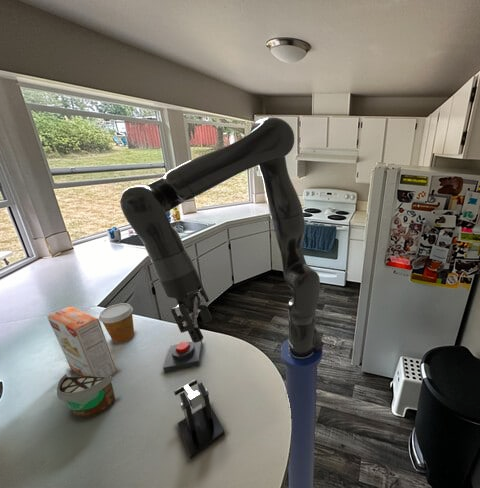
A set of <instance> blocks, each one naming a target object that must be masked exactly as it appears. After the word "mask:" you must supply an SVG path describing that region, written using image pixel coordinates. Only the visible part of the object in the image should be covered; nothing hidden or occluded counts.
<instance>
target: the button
mask: <svg viewBox="0 0 480 488" xmlns="http://www.w3.org/2000/svg"><path fill="white" fill-rule="evenodd" d="M188 342H189V341H188ZM188 342H187V341H181V342H179V343H177V344H178V345H177V346H176V349H177V352H178V353H184V352H186V351H188V350H189V344H188Z"/></svg>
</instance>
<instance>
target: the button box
mask: <svg viewBox="0 0 480 488" xmlns="http://www.w3.org/2000/svg"><path fill="white" fill-rule="evenodd" d="M186 342H188V344H189V350H188V351H186V352H184V353H178V352H177V349H176V346H177V345H178V344H179V343H177V344H171V345H169V349H168V352H167V355H166V358H165V361H164V364H163V372H164V374H166V373H170V372H176V371H181V370H185V369H190V368H195V367H200V363H201V357H202V352H203V347H204V346H203V345H204V343H203V340H202V341H199V342H196V343H194V342H193V341H192V340H191V341H186Z"/></svg>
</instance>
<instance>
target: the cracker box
mask: <svg viewBox="0 0 480 488" xmlns="http://www.w3.org/2000/svg"><path fill="white" fill-rule="evenodd" d="M47 319H48V322H49V324H50V327H51V329H52V330H53V333H54V335H55V337H56V339H57V342H58V344H59V346H60V348H61V351H62V353H63V355H64V357H65V359H66V362H67V364H68V367H69V368H70V370H71V371H73V372H75V373H77V374H78V375H80V377H82V376H93V377H107V376H108V375H109V374H110V376H111V377H112V376H113V375H115V374H116V373H117V372H118V370H117V367H116V364H115V362H114V361H115V360H114V358H113V356H112V352H111V350H110V347H109V344H108V342H107V338H106V335H105V333H104V330H103V327H102V325H101V321H100V320H99V317H96V316H93V315H91V314H90V313H87V312H85V311H83V310H81V309H78V308H76V307H74V306H72V305H70V306H68V307H65V308H63V309H61V310H58V311H56V312H53V313H51V314H49V315H47Z"/></svg>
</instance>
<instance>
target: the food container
mask: <svg viewBox="0 0 480 488" xmlns="http://www.w3.org/2000/svg"><path fill="white" fill-rule="evenodd" d="M113 381H114V378H113V376H112V375H111V376H110V374H109V375H108V376H107V377H93V376H67V374H66V373H65V374H64V375H63V376H62V377H61V378H60V380H59V381H58V383H57V385H56V386H57V387H56V395H57V398H58V399H59V400H61V401H63V402H66V405H68V407H69V409H70V410H71V411H72V413H73V414H74V415H75V417H76V418H78V419H81V420H82V419H90V418H92V417H96V416H98V415H100V414H101V413H103V412H104V411H106V410H108V409H109V408H110V407H111V406H112V405H113V404H114V403H115V402H116V396H115V391H114V387H113Z"/></svg>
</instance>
